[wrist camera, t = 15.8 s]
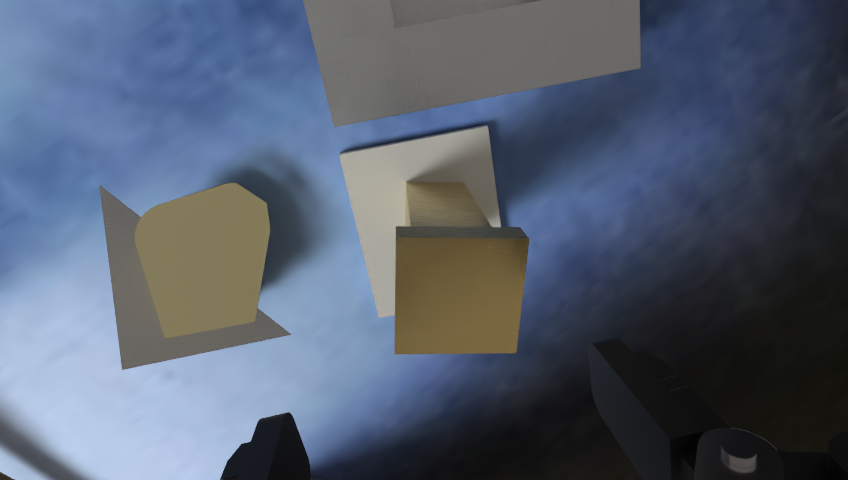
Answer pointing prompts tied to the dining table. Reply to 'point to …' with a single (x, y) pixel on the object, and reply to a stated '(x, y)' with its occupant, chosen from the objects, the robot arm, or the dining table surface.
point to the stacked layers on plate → (188, 274)
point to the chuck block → (462, 49)
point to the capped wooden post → (456, 275)
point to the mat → (386, 192)
